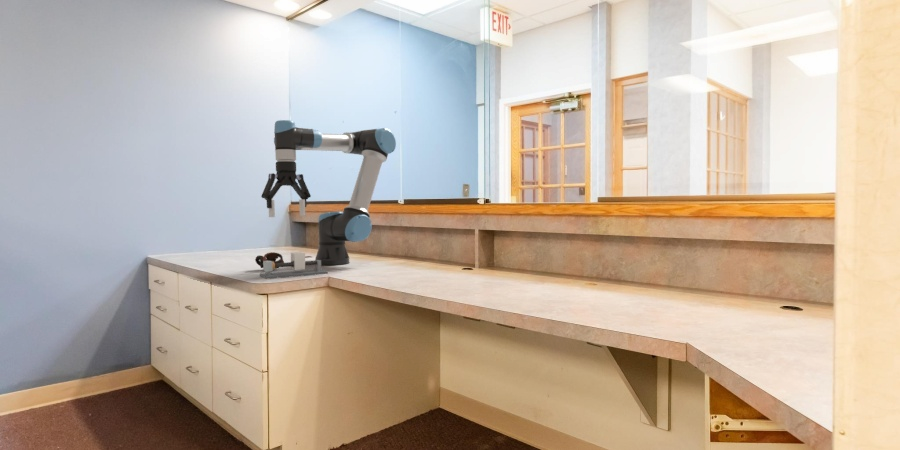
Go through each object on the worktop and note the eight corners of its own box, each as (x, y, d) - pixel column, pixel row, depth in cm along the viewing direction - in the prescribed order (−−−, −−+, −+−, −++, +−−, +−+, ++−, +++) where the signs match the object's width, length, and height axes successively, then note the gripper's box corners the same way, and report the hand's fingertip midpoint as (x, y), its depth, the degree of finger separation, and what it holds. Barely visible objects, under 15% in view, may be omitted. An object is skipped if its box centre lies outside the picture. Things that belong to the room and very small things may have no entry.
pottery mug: (286, 269, 216) (288, 253, 212) (278, 282, 208) (279, 265, 204) (258, 262, 216) (259, 246, 212) (248, 275, 208) (249, 258, 204)
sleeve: (301, 268, 200) (300, 251, 200) (305, 269, 196) (304, 252, 196) (291, 268, 198) (290, 252, 197) (294, 270, 194) (294, 253, 193)
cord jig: (318, 270, 207) (318, 256, 206) (327, 273, 199) (327, 258, 198) (259, 275, 193) (259, 260, 193) (267, 278, 185) (267, 262, 185)
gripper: (307, 163, 209) (308, 215, 210) (250, 160, 189) (252, 217, 190) (318, 162, 204) (320, 215, 205) (261, 159, 184) (263, 217, 186)
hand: (287, 216), depth 198 cm, fingers open, 13 cm apart
